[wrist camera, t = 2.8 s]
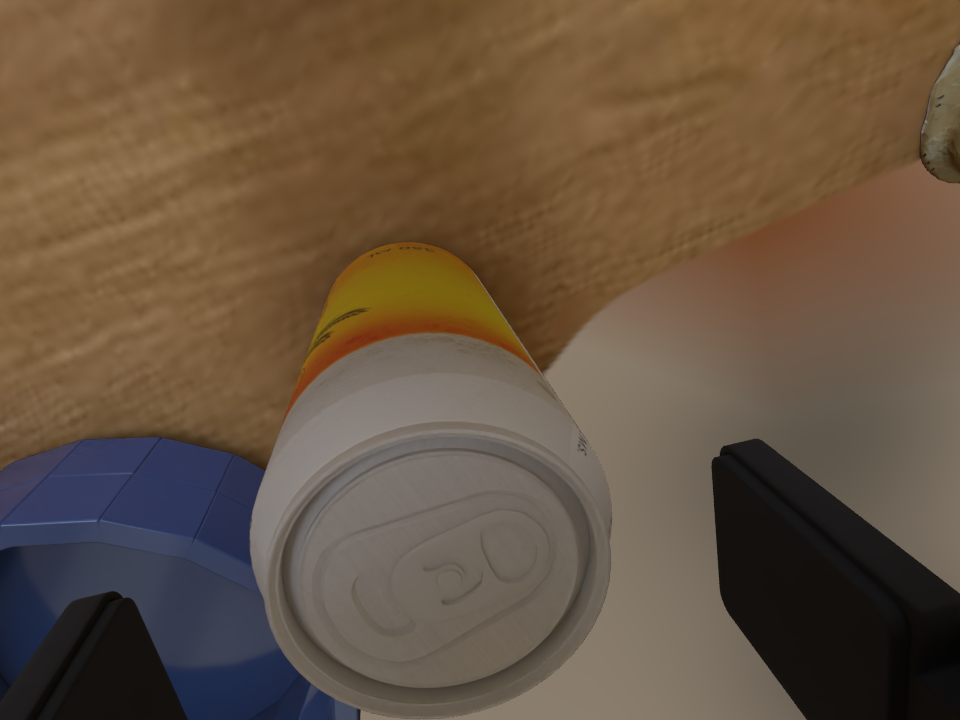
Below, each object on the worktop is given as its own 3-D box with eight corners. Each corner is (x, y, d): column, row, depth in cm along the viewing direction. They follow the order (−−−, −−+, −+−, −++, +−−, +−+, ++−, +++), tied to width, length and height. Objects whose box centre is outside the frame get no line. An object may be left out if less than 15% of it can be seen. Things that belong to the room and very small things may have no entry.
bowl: (-44, 379, 22) (-191, 461, 16) (412, 487, 26) (420, 583, 20) (-90, 735, 26) (-217, 896, 21) (307, 782, 30) (289, 928, 25)
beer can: (294, 280, 23) (147, 514, 9) (451, 211, 23) (560, 332, 9) (370, 420, 25) (351, 790, 11) (512, 357, 25) (681, 645, 11)
